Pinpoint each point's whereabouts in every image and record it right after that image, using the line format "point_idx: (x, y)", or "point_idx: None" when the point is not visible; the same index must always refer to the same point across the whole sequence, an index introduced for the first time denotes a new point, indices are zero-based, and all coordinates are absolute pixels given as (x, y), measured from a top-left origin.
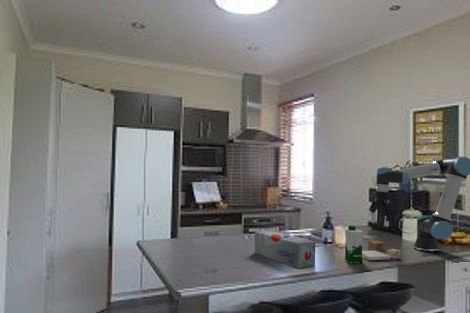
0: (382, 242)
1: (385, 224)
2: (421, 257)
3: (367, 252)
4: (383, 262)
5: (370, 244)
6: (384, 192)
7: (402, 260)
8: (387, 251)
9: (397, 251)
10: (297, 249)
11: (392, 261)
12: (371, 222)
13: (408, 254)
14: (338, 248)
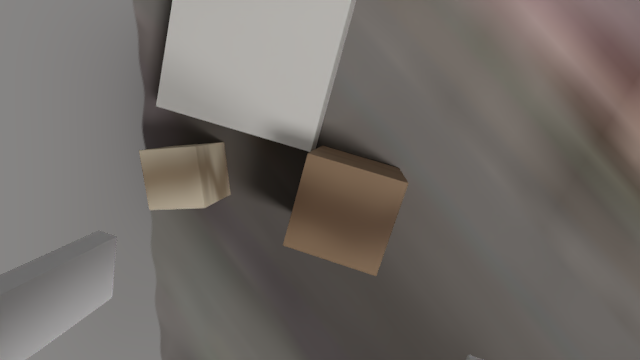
0: (305, 245)
1: (68, 252)
2: (166, 335)
3: (288, 26)
4: (150, 16)
5: (375, 169)
6: None
7: None
8: (202, 145)
9: (146, 180)
10: None
11: (151, 95)
12: (468, 357)
13: (239, 338)
14: (611, 16)
